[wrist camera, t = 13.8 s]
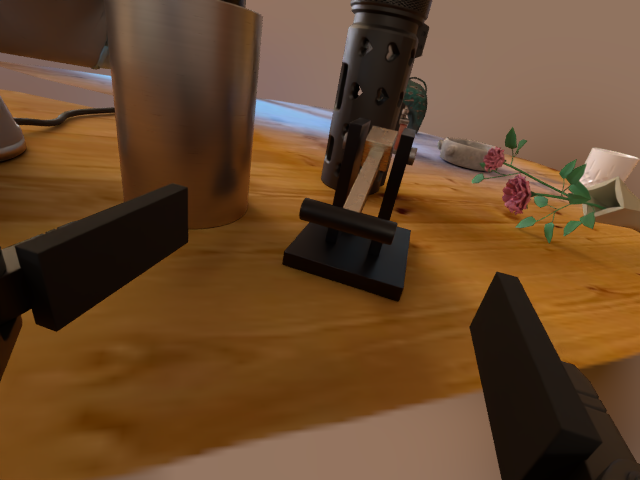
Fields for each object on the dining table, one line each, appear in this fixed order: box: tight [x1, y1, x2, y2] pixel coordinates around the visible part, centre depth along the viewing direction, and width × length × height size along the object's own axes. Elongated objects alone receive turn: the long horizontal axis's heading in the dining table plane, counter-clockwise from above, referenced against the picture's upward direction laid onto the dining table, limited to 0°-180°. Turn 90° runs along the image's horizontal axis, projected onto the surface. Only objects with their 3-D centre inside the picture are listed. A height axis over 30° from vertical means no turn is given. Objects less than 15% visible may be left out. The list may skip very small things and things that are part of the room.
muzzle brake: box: [321, 0, 432, 195], centre depth 45 cm, size 10×28×10 cm
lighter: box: [393, 107, 409, 154], centre depth 79 cm, size 8×3×10 cm, turn 178°
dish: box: [438, 138, 495, 171], centre depth 81 cm, size 14×14×5 cm
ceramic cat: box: [380, 77, 427, 134], centre depth 109 cm, size 20×6×20 cm, turn 105°
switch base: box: [282, 118, 417, 301], centre depth 30 cm, size 12×10×12 cm
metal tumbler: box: [104, 0, 263, 229], centre depth 31 cm, size 12×12×20 cm
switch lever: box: [299, 126, 398, 245], centre depth 25 cm, size 12×6×2 cm, turn 163°
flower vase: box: [472, 127, 640, 243], centre depth 45 cm, size 12×12×35 cm
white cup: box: [571, 148, 640, 194], centre depth 69 cm, size 8×8×10 cm
